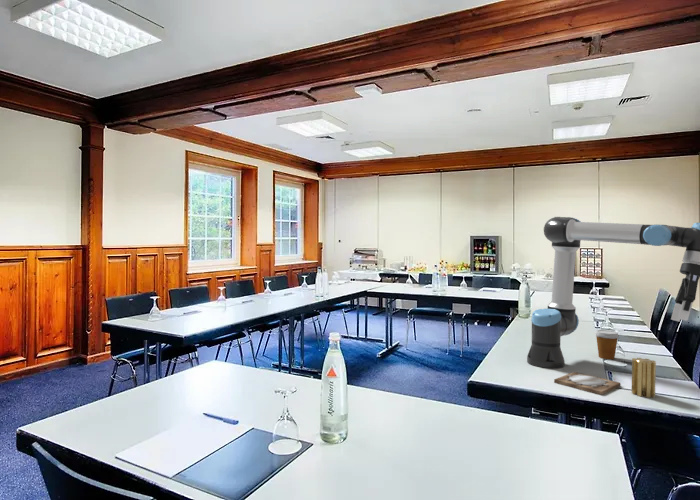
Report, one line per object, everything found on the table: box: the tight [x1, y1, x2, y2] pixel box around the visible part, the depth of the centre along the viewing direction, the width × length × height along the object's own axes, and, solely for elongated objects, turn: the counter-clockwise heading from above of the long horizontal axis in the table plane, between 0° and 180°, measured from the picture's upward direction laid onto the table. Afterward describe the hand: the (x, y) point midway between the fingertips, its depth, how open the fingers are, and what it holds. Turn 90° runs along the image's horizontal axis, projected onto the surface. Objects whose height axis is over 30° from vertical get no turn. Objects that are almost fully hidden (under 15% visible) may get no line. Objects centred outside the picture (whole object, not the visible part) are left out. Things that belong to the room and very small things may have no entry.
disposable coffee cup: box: [594, 329, 620, 360], centre depth 204 cm, size 10×10×12 cm
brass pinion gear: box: [631, 357, 657, 399], centre depth 156 cm, size 7×7×12 cm
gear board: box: [553, 371, 622, 396], centre depth 167 cm, size 17×16×2 cm
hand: (678, 320), depth 162 cm, fingers open, 13 cm apart
